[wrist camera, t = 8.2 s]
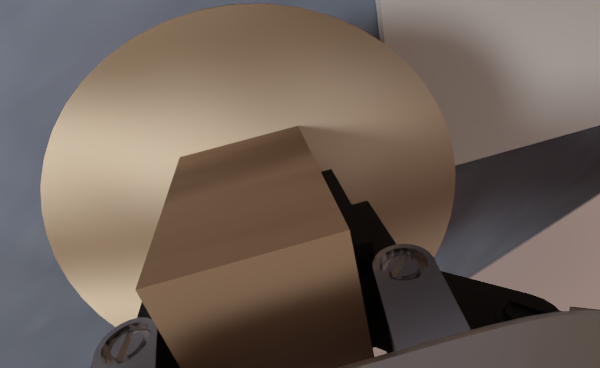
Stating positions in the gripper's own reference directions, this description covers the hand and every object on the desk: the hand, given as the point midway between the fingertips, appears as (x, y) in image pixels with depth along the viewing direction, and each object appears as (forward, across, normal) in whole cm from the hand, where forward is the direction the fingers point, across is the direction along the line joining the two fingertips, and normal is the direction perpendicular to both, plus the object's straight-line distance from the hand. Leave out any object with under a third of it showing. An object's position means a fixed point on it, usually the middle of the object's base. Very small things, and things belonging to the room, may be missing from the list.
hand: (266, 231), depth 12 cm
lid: (+1, 0, 0) cm, 1 cm away
